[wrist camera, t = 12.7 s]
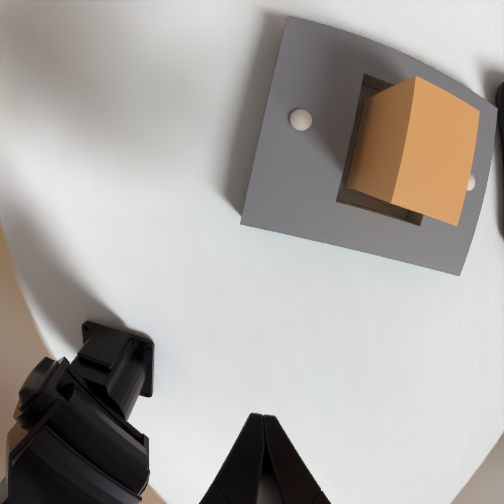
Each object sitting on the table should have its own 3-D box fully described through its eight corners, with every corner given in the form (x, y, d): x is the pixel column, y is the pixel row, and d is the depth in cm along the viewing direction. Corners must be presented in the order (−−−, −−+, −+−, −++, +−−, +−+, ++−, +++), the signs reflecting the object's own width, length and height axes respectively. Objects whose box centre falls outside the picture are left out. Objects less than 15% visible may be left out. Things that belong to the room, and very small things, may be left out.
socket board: (446, 266, 20) (460, 277, 18) (241, 217, 19) (239, 225, 17) (482, 110, 16) (499, 108, 14) (285, 28, 15) (288, 14, 13)
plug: (398, 202, 18) (457, 226, 12) (345, 186, 18) (390, 203, 12) (416, 120, 17) (479, 111, 10) (364, 99, 16) (416, 75, 10)
